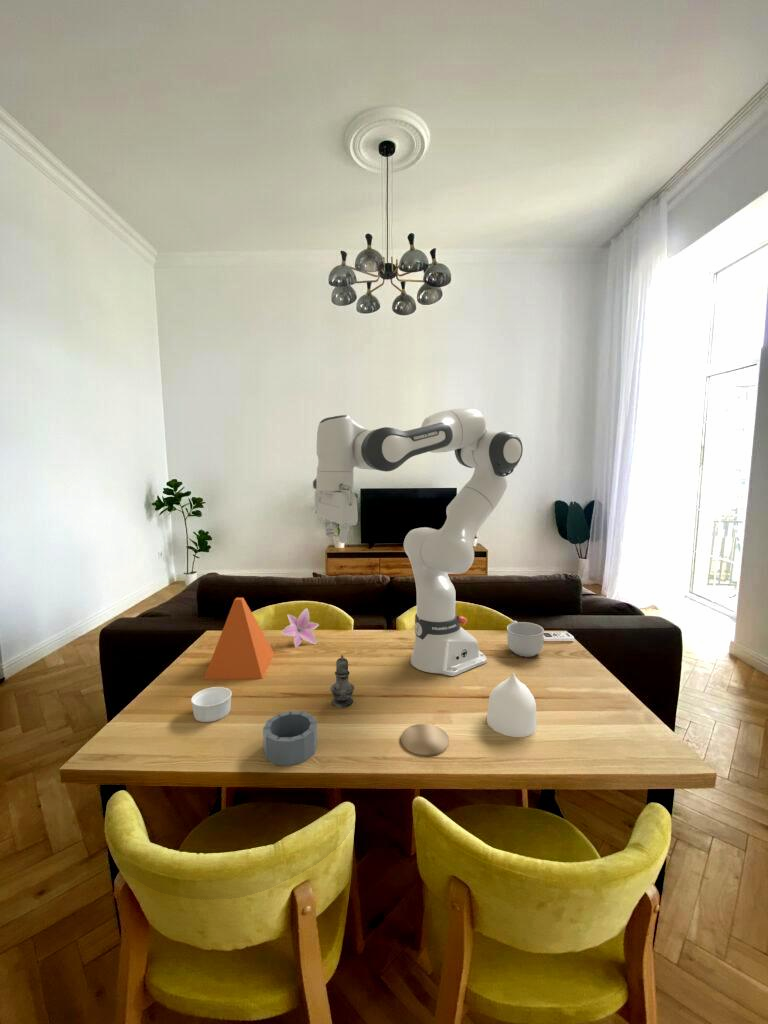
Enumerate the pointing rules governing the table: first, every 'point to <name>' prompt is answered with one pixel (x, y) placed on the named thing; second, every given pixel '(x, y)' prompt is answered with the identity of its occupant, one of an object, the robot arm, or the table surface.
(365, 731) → the table surface
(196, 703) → the ramekin
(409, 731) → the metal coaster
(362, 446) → the robot arm
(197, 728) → the table surface
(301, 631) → the lily
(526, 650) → the teacup
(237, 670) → the pyramid
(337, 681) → the grey chess piece
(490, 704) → the teardrop
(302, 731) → the grey faceted cup
